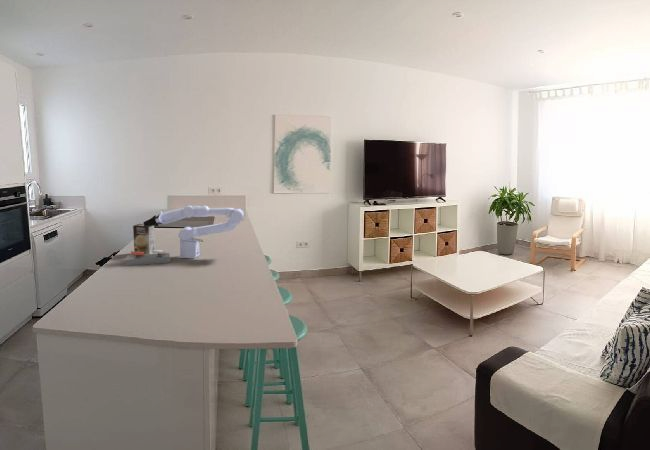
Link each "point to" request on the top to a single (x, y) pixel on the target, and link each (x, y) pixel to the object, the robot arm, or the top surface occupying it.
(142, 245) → the coffee box
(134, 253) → the red rocker
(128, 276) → the top surface
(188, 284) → the top surface
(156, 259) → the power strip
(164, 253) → the white rocker
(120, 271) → the top surface
